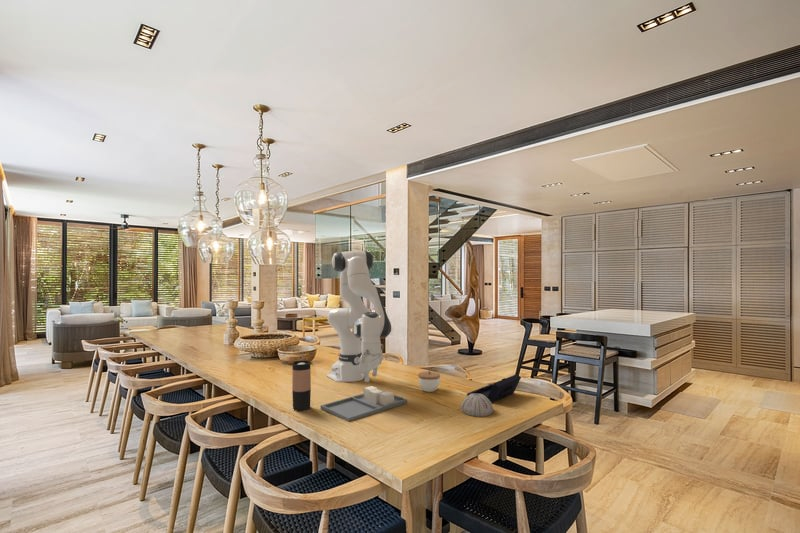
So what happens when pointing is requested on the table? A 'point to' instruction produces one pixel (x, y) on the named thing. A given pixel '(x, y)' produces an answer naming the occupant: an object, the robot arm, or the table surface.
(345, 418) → the divided tray
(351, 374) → the robot arm
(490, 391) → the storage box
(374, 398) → the limestone block
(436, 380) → the lidded jar
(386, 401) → the limestone block
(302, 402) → the travel mug
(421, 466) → the table surface
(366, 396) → the limestone block
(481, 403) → the sea urchin shell
